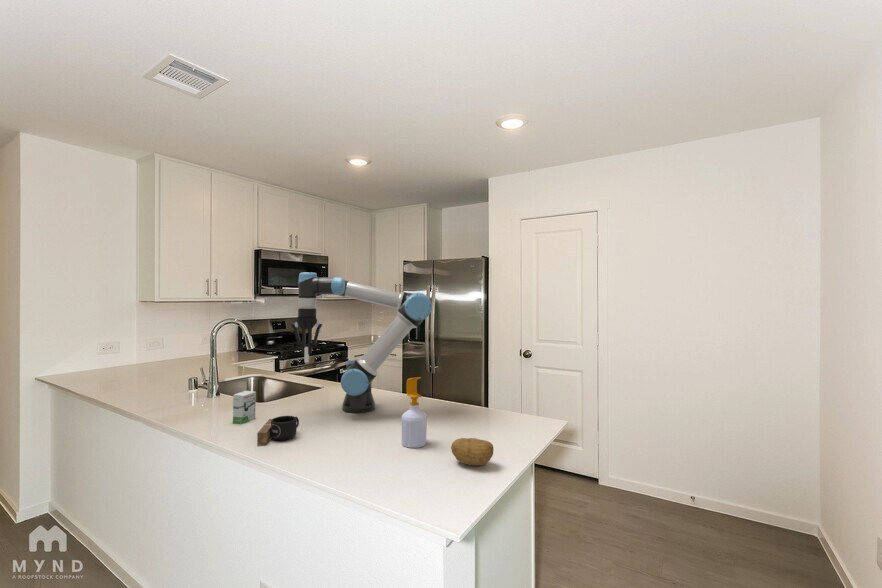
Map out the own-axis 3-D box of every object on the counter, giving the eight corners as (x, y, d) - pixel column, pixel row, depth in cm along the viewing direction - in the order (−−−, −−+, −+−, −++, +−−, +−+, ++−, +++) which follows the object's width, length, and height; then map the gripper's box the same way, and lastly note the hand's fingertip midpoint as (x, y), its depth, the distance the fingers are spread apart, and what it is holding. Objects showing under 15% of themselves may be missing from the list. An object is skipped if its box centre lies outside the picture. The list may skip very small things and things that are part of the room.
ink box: (242, 424, 168) (242, 395, 168) (232, 423, 169) (232, 394, 169) (256, 418, 177) (256, 390, 177) (246, 417, 178) (246, 390, 178)
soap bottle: (407, 450, 143) (408, 380, 143) (397, 441, 151) (398, 375, 151) (430, 446, 147) (431, 377, 147) (419, 437, 155) (420, 373, 155)
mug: (283, 443, 147) (283, 424, 147) (265, 439, 151) (265, 420, 151) (307, 433, 158) (307, 415, 158) (289, 430, 162) (289, 412, 162)
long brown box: (277, 430, 161) (277, 418, 161) (266, 445, 146) (266, 431, 146) (269, 430, 161) (269, 418, 161) (257, 445, 145) (257, 432, 145)
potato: (456, 455, 139) (456, 431, 139) (496, 462, 134) (497, 437, 134) (446, 466, 130) (446, 441, 130) (489, 474, 124) (489, 448, 124)
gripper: (323, 307, 182) (323, 360, 182) (293, 307, 180) (292, 360, 180) (321, 308, 175) (320, 363, 175) (289, 308, 173) (289, 363, 173)
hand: (306, 361), depth 178 cm, fingers closed
